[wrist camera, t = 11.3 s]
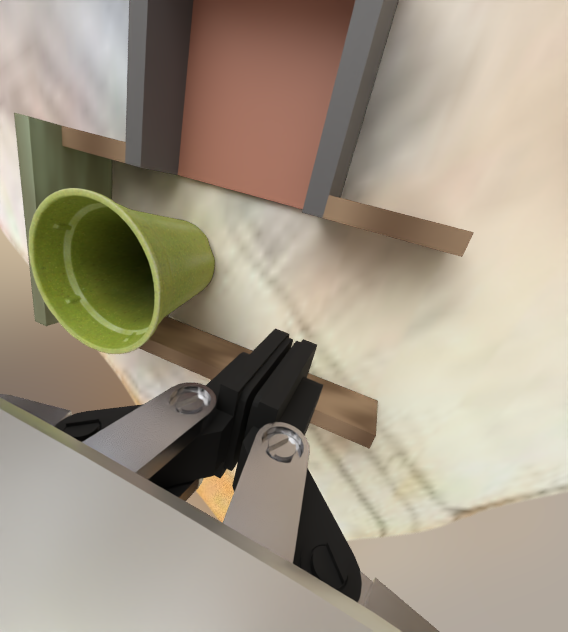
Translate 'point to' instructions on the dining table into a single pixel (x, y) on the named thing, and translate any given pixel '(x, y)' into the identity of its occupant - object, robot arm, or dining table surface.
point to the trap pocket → (253, 91)
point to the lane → (173, 336)
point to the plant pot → (113, 267)
